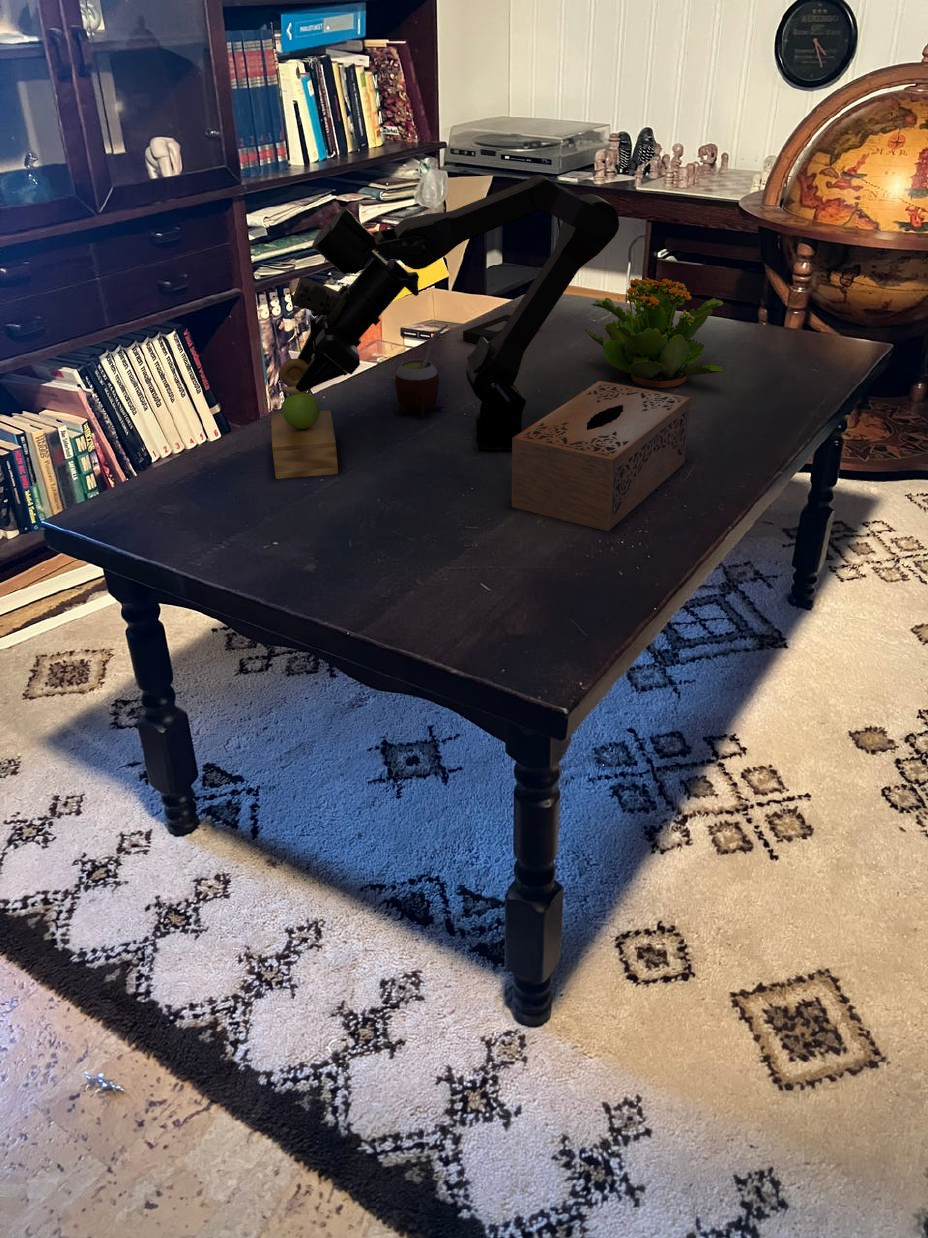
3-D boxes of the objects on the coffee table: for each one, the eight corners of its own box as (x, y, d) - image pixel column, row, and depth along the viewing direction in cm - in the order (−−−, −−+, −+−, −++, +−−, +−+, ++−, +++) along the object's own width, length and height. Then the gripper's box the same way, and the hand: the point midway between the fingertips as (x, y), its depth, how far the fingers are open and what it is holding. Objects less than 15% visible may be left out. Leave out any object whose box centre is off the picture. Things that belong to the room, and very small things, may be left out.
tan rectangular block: (332, 440, 164) (330, 409, 161) (338, 474, 153) (335, 441, 150) (274, 444, 162) (271, 414, 160) (275, 479, 151) (272, 446, 149)
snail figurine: (331, 430, 154) (324, 349, 147) (288, 436, 152) (279, 355, 146) (323, 417, 158) (316, 339, 152) (281, 423, 156) (272, 344, 150)
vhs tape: (536, 330, 212) (536, 320, 210) (493, 348, 202) (493, 337, 201) (506, 324, 216) (506, 314, 214) (462, 341, 206) (462, 331, 205)
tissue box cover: (608, 531, 136) (612, 459, 131) (511, 506, 143) (512, 437, 137) (684, 462, 154) (691, 397, 149) (595, 443, 161) (599, 380, 156)
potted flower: (759, 386, 181) (773, 283, 172) (657, 416, 170) (667, 307, 161) (658, 351, 199) (666, 255, 190) (561, 375, 188) (564, 275, 179)
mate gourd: (392, 407, 176) (387, 317, 168) (437, 401, 178) (434, 312, 170) (404, 422, 170) (399, 330, 162) (450, 416, 172) (448, 324, 164)
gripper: (320, 242, 151) (252, 323, 155) (327, 273, 135) (251, 363, 139) (378, 294, 156) (310, 371, 160) (391, 330, 140) (316, 415, 145)
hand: (297, 379), depth 151 cm, fingers open, 9 cm apart
